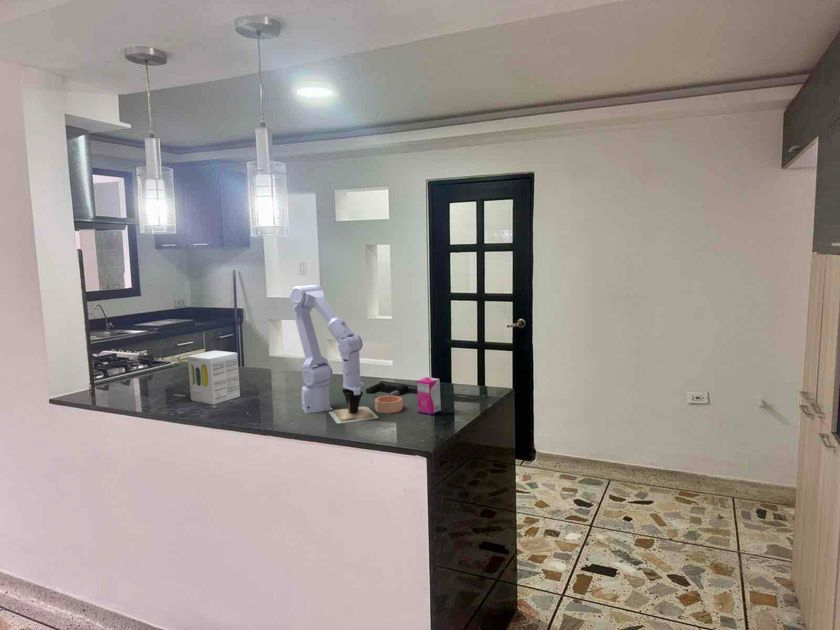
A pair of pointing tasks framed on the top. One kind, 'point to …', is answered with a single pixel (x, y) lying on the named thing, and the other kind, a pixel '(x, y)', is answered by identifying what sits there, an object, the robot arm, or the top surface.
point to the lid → (352, 414)
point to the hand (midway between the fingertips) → (352, 410)
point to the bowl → (388, 404)
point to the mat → (351, 420)
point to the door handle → (392, 388)
